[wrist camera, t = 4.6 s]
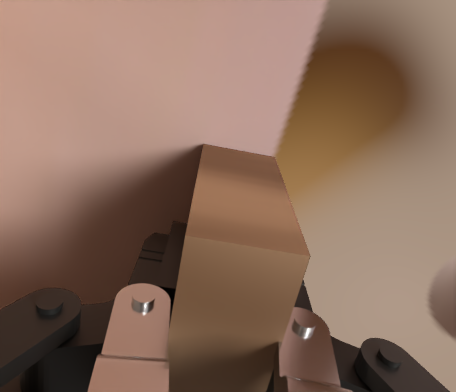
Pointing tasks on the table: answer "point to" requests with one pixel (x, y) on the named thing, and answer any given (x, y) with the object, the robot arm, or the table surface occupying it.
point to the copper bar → (235, 275)
